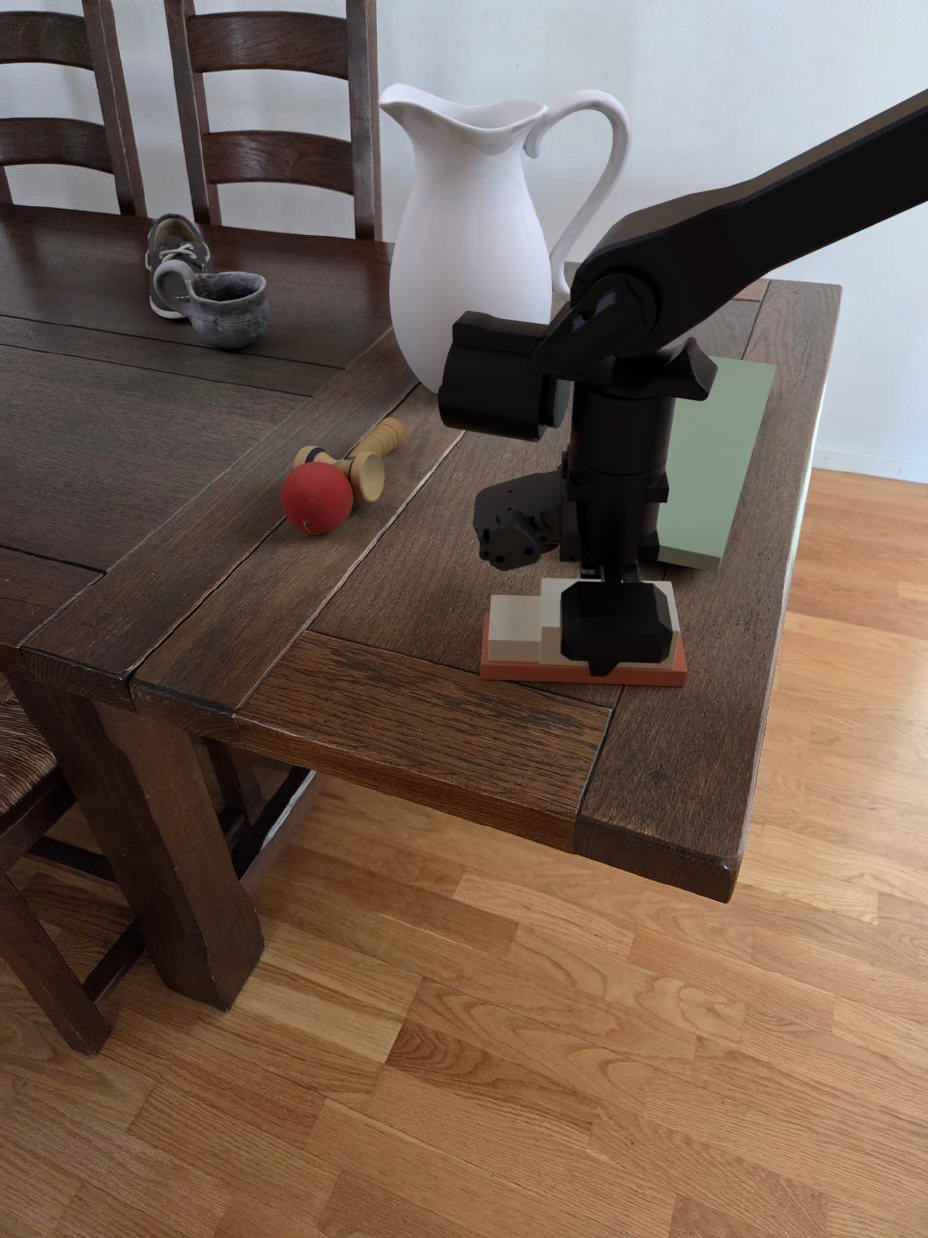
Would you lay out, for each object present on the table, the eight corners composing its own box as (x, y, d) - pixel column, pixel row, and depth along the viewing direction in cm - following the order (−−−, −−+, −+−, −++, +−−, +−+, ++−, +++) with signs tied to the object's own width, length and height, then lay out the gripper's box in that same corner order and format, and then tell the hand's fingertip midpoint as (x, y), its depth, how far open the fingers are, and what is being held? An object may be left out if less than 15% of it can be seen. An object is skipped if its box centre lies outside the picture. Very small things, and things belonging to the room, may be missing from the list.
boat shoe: (223, 322, 109) (210, 262, 104) (148, 330, 107) (132, 269, 102) (218, 259, 127) (208, 205, 122) (155, 265, 126) (141, 211, 121)
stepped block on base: (675, 633, 63) (685, 580, 60) (684, 687, 59) (696, 632, 55) (484, 627, 64) (484, 574, 60) (480, 679, 60) (480, 626, 56)
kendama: (350, 450, 86) (254, 526, 72) (359, 391, 83) (258, 459, 68) (420, 476, 85) (336, 558, 71) (432, 417, 81) (345, 491, 67)
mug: (281, 352, 102) (267, 265, 95) (173, 368, 99) (151, 280, 92) (269, 322, 109) (255, 239, 102) (168, 336, 106) (147, 252, 99)
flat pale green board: (668, 376, 95) (671, 350, 93) (770, 391, 92) (776, 364, 90) (577, 558, 70) (580, 528, 68) (714, 588, 67) (721, 557, 65)
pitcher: (395, 417, 89) (372, 110, 71) (395, 350, 102) (375, 74, 83) (624, 407, 90) (659, 101, 71) (595, 341, 102) (619, 67, 84)
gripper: (488, 378, 58) (487, 563, 68) (471, 540, 44) (474, 742, 54) (654, 380, 57) (629, 566, 67) (692, 545, 43) (653, 749, 53)
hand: (596, 645), depth 61 cm, fingers closed on stepped block on base, 5 cm apart
